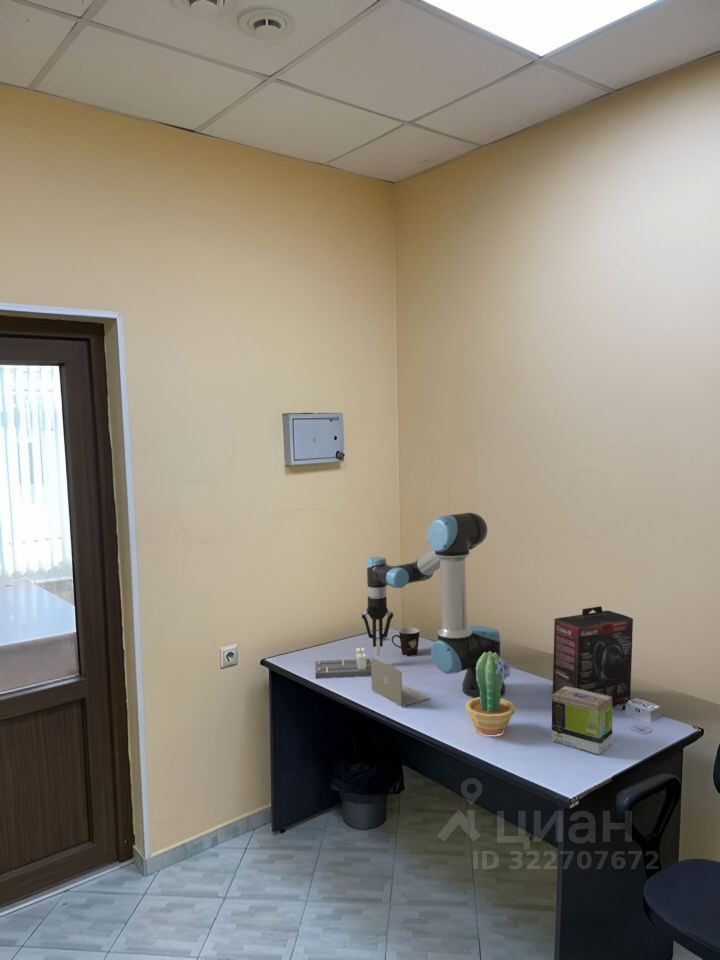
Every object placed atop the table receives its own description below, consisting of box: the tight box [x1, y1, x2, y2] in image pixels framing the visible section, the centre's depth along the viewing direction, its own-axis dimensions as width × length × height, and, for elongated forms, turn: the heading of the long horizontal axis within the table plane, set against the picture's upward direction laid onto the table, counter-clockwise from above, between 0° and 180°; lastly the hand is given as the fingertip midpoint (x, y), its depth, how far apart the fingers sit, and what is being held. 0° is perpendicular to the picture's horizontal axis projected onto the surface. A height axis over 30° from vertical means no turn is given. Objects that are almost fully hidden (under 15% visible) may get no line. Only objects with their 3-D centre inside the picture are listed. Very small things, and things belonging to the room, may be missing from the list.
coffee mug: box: [391, 627, 421, 657], centre depth 292 cm, size 12×9×10 cm
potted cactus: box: [464, 651, 516, 735], centre depth 216 cm, size 15×15×25 cm
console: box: [314, 658, 371, 679], centre depth 273 cm, size 14×22×2 cm, turn 94°
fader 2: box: [358, 653, 367, 670], centre depth 270 cm, size 4×3×5 cm
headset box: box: [552, 605, 634, 706], centre depth 236 cm, size 24×13×33 cm, turn 115°
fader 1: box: [355, 647, 366, 664], centre depth 277 cm, size 4×3×5 cm
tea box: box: [551, 686, 613, 755], centre depth 208 cm, size 15×10×15 cm
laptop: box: [370, 657, 431, 708], centre depth 247 cm, size 18×12×13 cm
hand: (377, 654), depth 277 cm, fingers closed
